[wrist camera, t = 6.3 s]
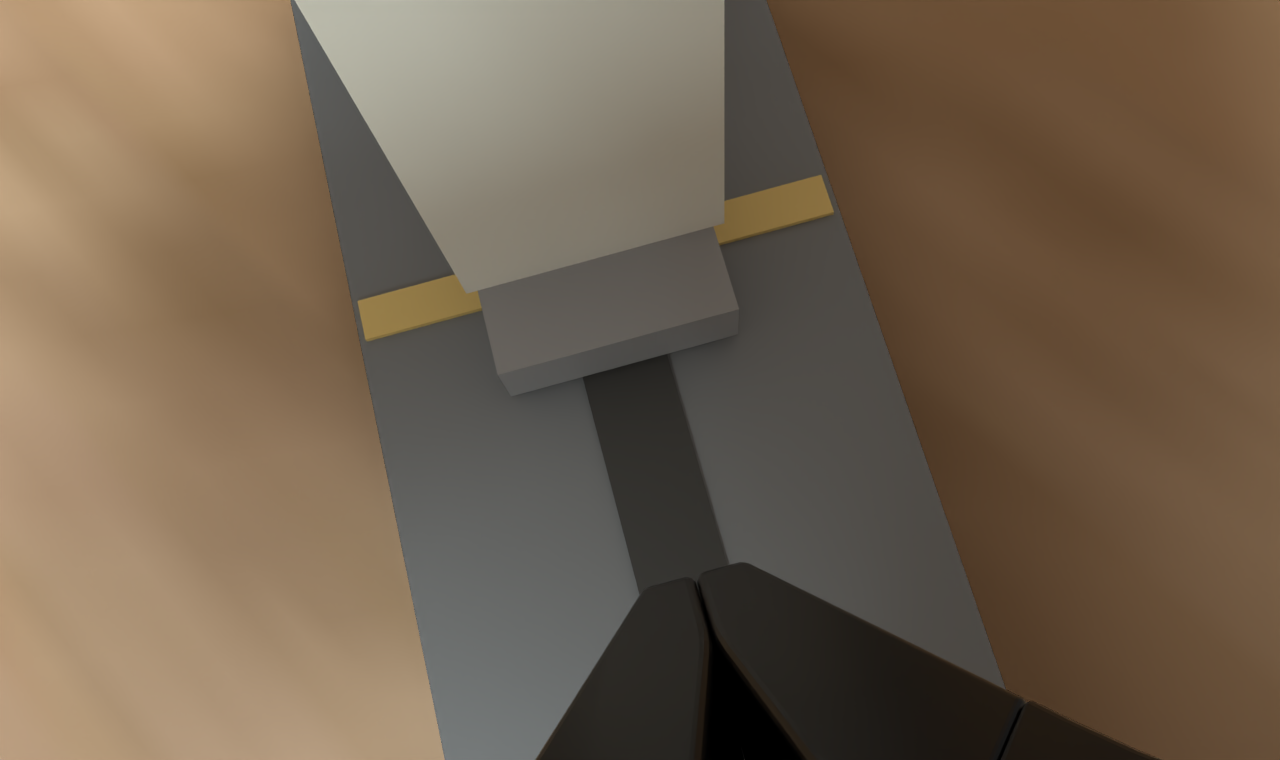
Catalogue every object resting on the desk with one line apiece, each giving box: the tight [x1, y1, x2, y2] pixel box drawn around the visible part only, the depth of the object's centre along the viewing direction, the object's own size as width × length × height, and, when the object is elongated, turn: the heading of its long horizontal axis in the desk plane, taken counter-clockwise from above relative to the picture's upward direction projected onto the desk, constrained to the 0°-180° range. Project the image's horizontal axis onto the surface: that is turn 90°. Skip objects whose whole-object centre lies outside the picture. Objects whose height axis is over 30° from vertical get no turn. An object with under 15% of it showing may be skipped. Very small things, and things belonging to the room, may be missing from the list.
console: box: [291, 0, 1006, 760], centre depth 15 cm, size 16×7×4 cm, turn 15°
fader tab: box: [295, 0, 739, 396], centre depth 12 cm, size 4×4×10 cm
